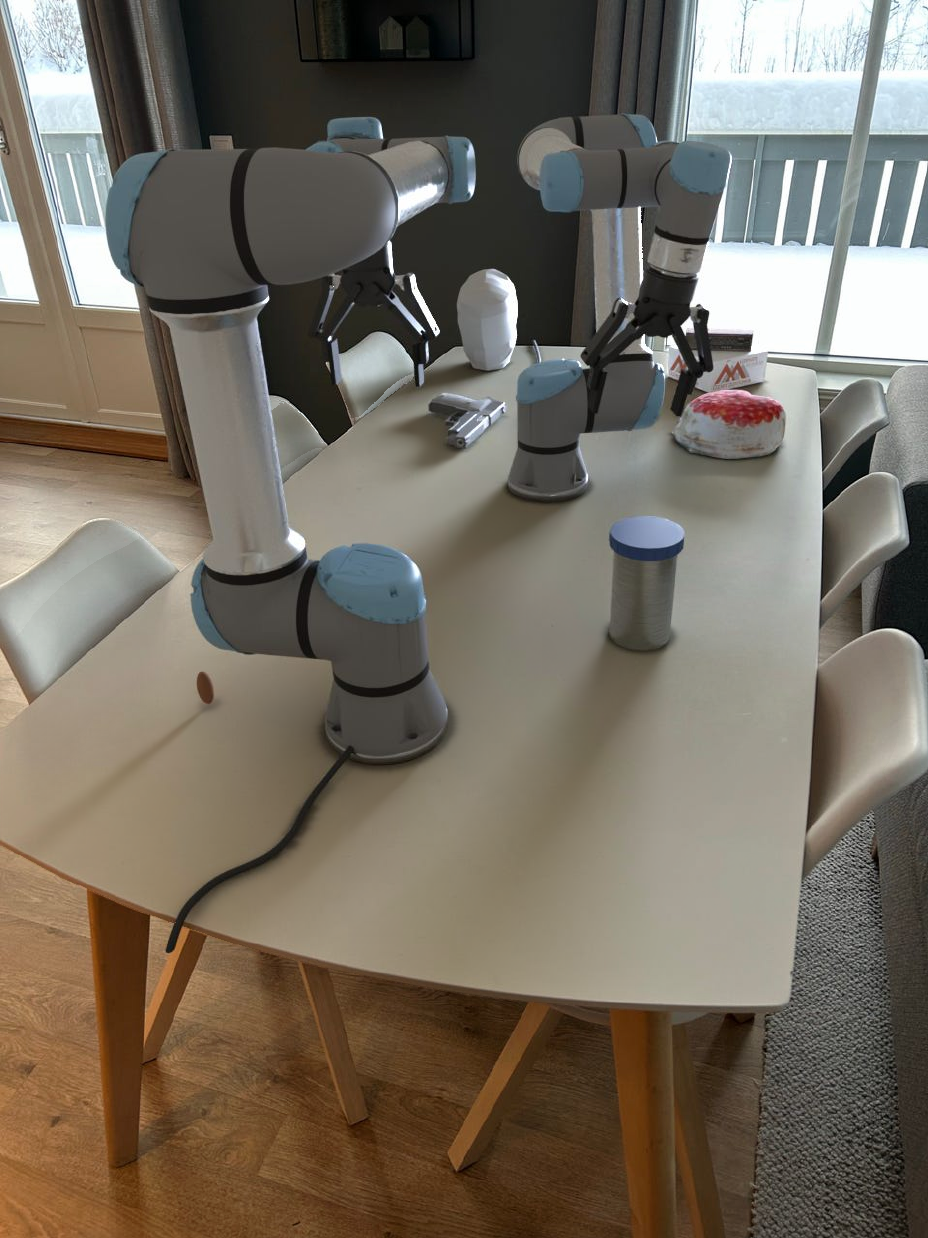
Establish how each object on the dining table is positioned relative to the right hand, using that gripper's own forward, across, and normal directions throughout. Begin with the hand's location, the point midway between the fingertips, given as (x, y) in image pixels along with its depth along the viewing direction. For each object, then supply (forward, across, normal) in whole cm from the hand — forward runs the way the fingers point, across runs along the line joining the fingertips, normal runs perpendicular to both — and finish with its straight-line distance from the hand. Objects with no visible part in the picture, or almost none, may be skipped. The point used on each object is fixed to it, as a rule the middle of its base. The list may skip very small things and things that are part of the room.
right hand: (634, 411), depth 138 cm
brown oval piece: (+30, -63, -29) cm, 76 cm away
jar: (+22, -3, -27) cm, 35 cm away
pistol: (+35, -11, +64) cm, 74 cm away
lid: (+6, -6, -25) cm, 26 cm away
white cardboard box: (+27, +58, +79) cm, 102 cm away
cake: (+24, +43, +40) cm, 63 cm away
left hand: (+4, -37, +15) cm, 40 cm away
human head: (+38, +8, +109) cm, 116 cm away
